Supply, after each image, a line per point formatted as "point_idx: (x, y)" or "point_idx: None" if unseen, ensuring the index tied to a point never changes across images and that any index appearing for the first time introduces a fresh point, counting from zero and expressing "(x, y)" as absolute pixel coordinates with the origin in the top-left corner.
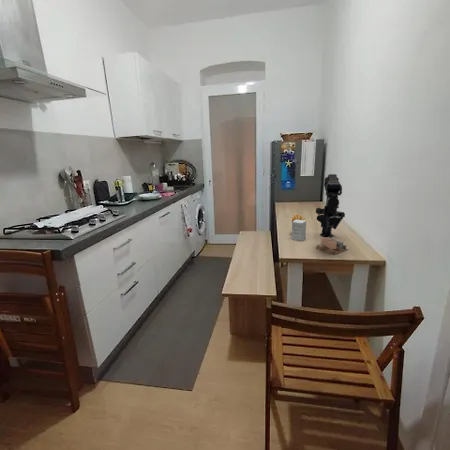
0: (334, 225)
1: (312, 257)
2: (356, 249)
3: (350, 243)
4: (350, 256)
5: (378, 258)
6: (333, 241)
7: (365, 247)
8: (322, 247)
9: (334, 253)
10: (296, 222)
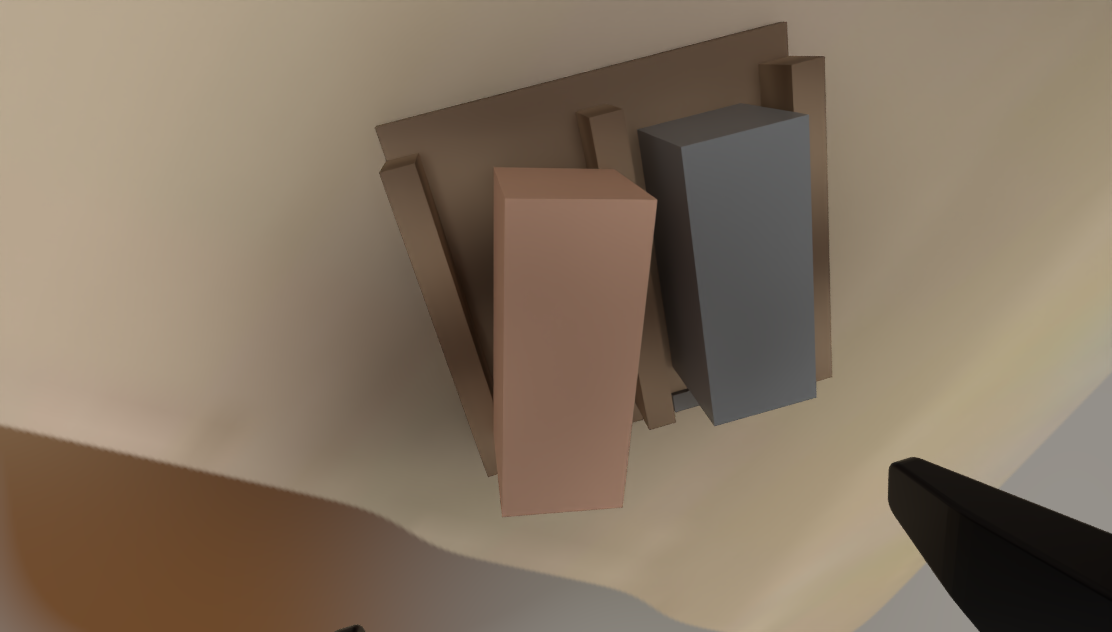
0: (1005, 582)
1: (111, 435)
2: (906, 385)
3: (1082, 162)
4: (643, 533)
5: (836, 626)
6: (594, 463)
7: (1055, 367)
8: (424, 296)
9: None
10: None
